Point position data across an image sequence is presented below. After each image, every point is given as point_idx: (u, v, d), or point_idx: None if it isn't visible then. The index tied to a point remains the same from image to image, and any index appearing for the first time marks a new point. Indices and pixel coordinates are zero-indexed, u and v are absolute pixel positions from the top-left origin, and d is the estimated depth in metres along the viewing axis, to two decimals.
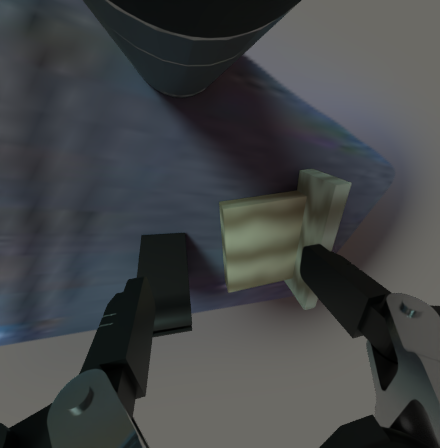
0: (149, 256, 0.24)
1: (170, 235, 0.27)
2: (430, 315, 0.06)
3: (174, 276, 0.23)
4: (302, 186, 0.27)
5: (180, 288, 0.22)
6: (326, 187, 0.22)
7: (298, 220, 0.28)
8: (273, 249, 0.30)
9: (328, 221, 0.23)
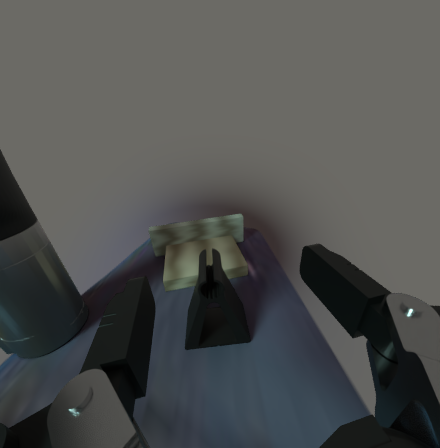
0: (190, 323, 0.25)
1: (187, 320, 0.29)
2: (430, 315, 0.06)
3: (196, 288, 0.26)
4: (163, 251, 0.45)
5: None
6: (153, 235, 0.43)
7: (182, 244, 0.44)
8: (203, 249, 0.42)
9: (169, 227, 0.43)
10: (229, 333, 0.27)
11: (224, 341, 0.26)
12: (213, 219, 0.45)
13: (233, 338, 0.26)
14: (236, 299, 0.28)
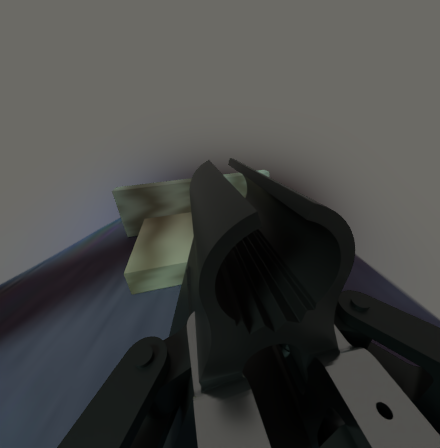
0: None
1: None
2: None
3: (186, 288, 0.09)
4: (139, 228, 0.27)
5: (193, 252, 0.09)
6: (120, 199, 0.25)
7: (170, 217, 0.27)
8: None
9: (148, 186, 0.25)
10: (286, 408, 0.09)
11: (280, 443, 0.08)
12: None
13: (303, 428, 0.09)
14: None
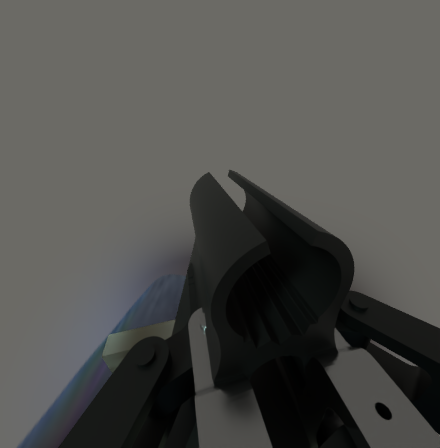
0: (176, 417, 0.07)
1: None
2: None
3: (188, 297, 0.09)
4: None
5: (194, 262, 0.09)
6: (114, 362, 0.17)
7: None
8: None
9: None
10: (286, 410, 0.10)
11: (281, 446, 0.09)
12: None
13: (304, 430, 0.09)
14: None
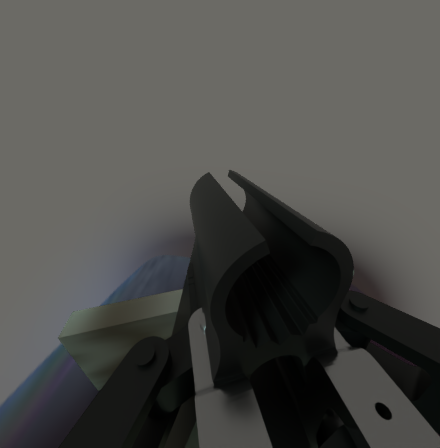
0: (176, 417, 0.07)
1: None
2: None
3: (188, 297, 0.09)
4: None
5: (194, 262, 0.09)
6: (77, 347, 0.13)
7: None
8: None
9: (133, 317, 0.13)
10: (286, 410, 0.10)
11: (281, 446, 0.09)
12: None
13: (303, 430, 0.09)
14: None
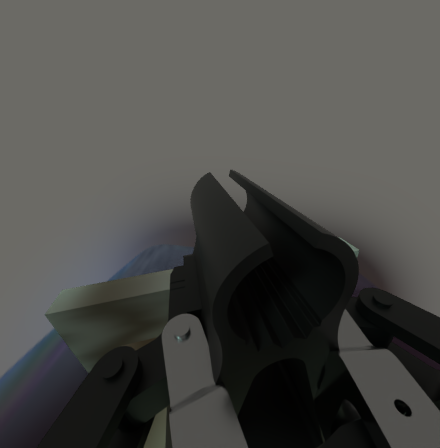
0: None
1: None
2: None
3: None
4: None
5: (195, 262, 0.09)
6: (66, 325, 0.12)
7: None
8: None
9: (126, 294, 0.12)
10: (288, 411, 0.10)
11: (283, 447, 0.09)
12: None
13: (306, 431, 0.09)
14: None
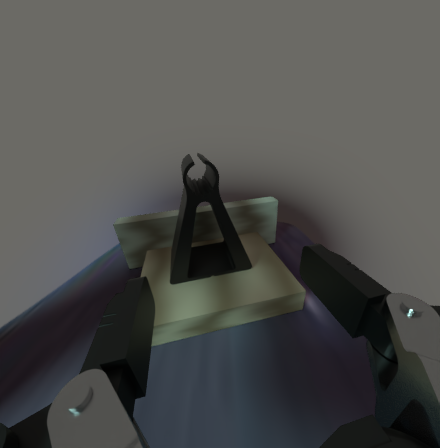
0: (175, 247, 0.19)
1: (171, 258, 0.23)
2: (430, 315, 0.06)
3: (180, 208, 0.21)
4: (142, 259, 0.26)
5: (183, 193, 0.21)
6: (122, 233, 0.24)
7: None
8: None
9: (151, 218, 0.24)
10: (225, 263, 0.22)
11: (220, 270, 0.20)
12: (227, 205, 0.26)
13: (231, 266, 0.21)
14: None
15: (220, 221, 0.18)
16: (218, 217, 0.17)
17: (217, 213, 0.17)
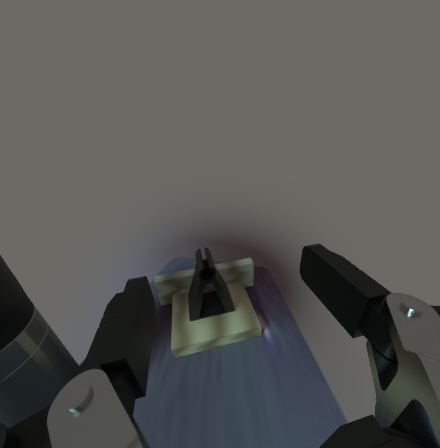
0: (192, 301, 0.35)
1: (188, 302, 0.39)
2: (430, 315, 0.06)
3: (195, 277, 0.37)
4: (169, 300, 0.42)
5: (196, 268, 0.37)
6: (158, 286, 0.40)
7: None
8: None
9: (176, 277, 0.40)
10: (220, 307, 0.38)
11: (217, 312, 0.37)
12: (222, 266, 0.43)
13: (223, 309, 0.37)
14: (223, 283, 0.39)
15: (217, 290, 0.34)
16: (216, 288, 0.33)
17: (215, 287, 0.33)
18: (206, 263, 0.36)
